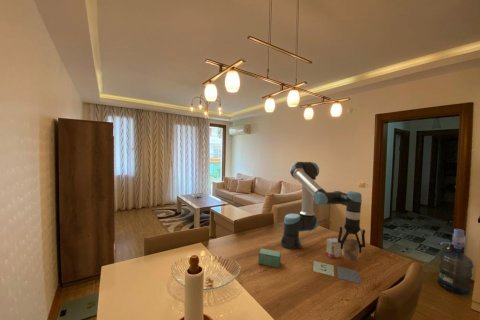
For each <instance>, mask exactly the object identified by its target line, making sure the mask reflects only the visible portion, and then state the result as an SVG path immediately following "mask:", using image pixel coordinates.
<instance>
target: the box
mask: <svg viewBox="0 0 480 320" xmlns="http://www.w3.org/2000/svg"><path fill="white" fill-rule="evenodd" d="M281 257H282V252H281V251H279V250H272V249H267V248H260V250H259V252H258V265H262V266H268V267H273V268H277V269H280V266H281V260H282V259H281Z"/></svg>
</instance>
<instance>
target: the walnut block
mask: <svg viewBox="0 0 480 320" xmlns="http://www.w3.org/2000/svg"><path fill="white" fill-rule="evenodd" d="M358 248H359V244H358V242H357V239H356V238H355V239H353V238H348V237H347V238H346V240H345V241H344V256H343V258H344V259H343V260H349V261H353V262H358V261H359V260H358Z"/></svg>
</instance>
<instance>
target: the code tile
mask: <svg viewBox="0 0 480 320" xmlns="http://www.w3.org/2000/svg"><path fill="white" fill-rule="evenodd" d="M334 268H335V266H334V265H333V264H328V263H324V262H320V261H315V260H313V266H312V272H314V273H315V272H316V273H320V274H322V275H323V274H325V275H327V276H332V277H335V269H334Z"/></svg>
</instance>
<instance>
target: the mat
mask: <svg viewBox="0 0 480 320" xmlns="http://www.w3.org/2000/svg"><path fill="white" fill-rule="evenodd" d="M336 270H337V279H338V280H343V281H346V282H351V283H356V284H358V283H359V285H362V280H361V277H360V273H358V272H359V271H358V270H355V269H351V268H346V267H342V266H336ZM357 271H358V272H357Z"/></svg>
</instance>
